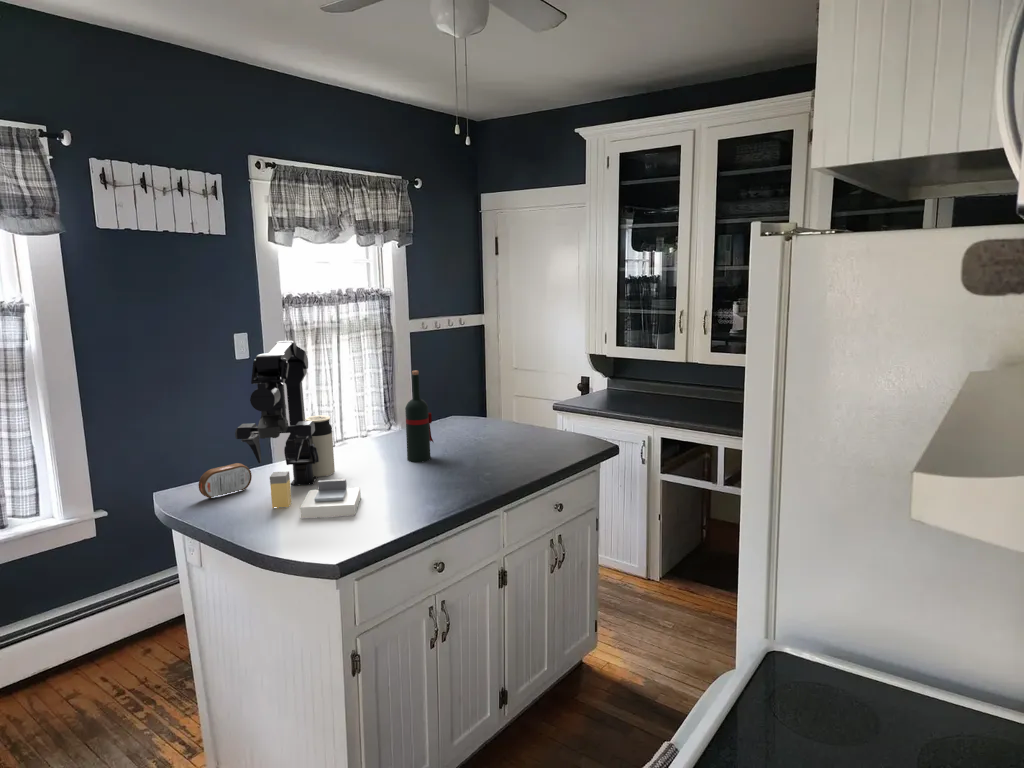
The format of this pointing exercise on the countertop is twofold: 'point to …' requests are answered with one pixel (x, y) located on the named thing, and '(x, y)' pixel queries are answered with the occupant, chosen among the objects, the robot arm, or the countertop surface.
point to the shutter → (331, 490)
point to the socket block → (330, 505)
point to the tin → (224, 480)
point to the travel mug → (323, 446)
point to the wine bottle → (418, 425)
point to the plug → (280, 489)
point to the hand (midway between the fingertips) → (278, 462)
